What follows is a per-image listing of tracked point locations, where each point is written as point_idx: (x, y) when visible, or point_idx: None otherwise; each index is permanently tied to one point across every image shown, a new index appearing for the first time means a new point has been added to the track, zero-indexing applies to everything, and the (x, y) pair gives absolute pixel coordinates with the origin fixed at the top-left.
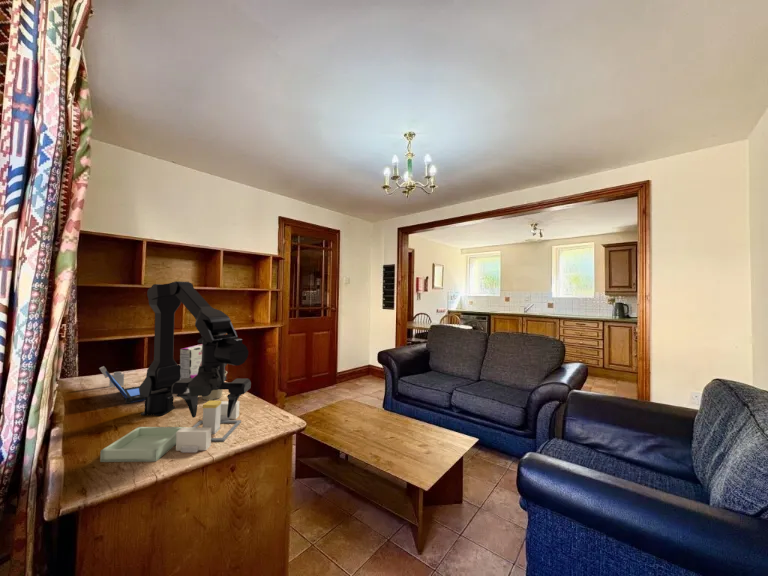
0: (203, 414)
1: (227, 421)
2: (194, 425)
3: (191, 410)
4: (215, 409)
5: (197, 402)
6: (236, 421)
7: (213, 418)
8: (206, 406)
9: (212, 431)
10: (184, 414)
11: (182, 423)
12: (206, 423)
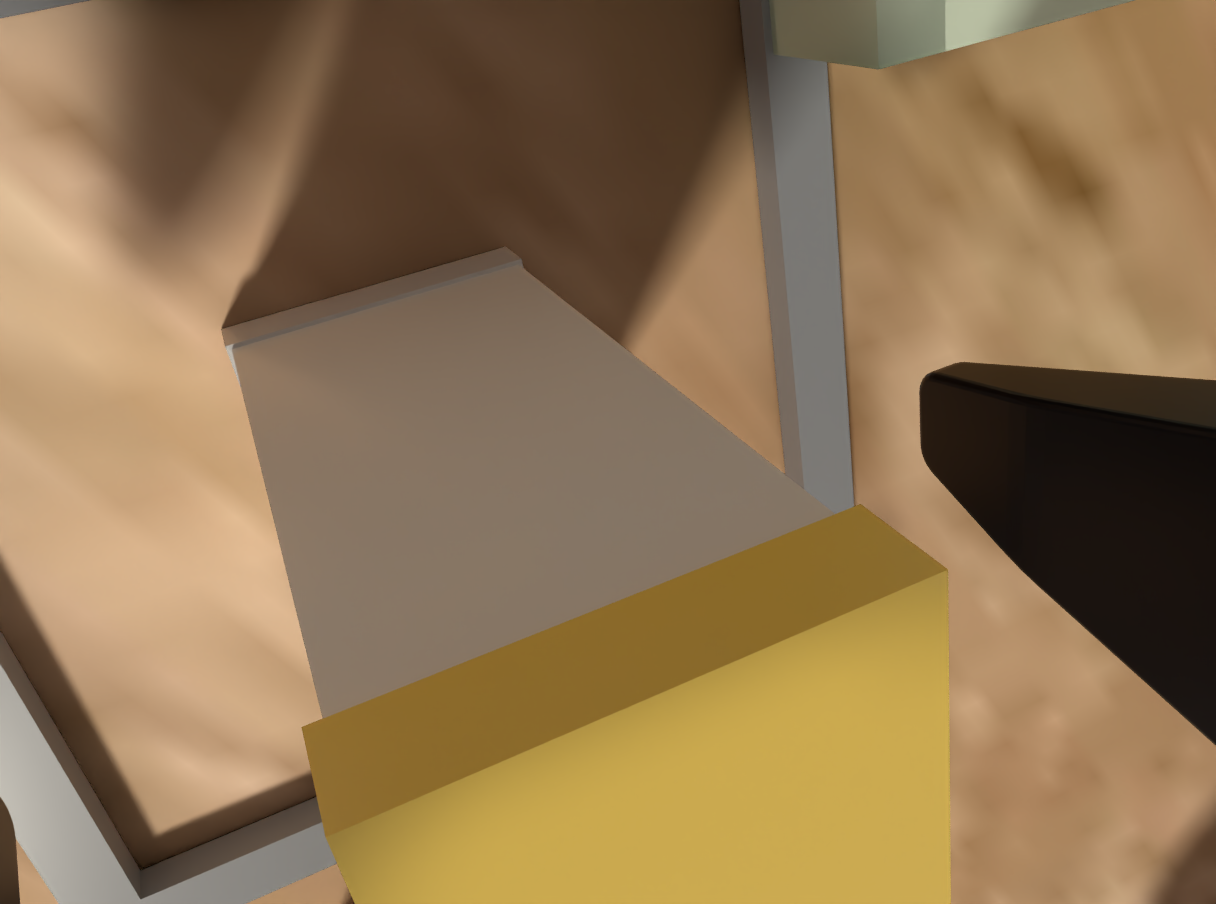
0: (692, 418)
1: None
2: (840, 445)
3: (1136, 397)
4: (317, 689)
5: (1210, 735)
6: (163, 890)
7: (321, 476)
8: (752, 599)
9: (285, 334)
10: None
11: None
12: (491, 353)
